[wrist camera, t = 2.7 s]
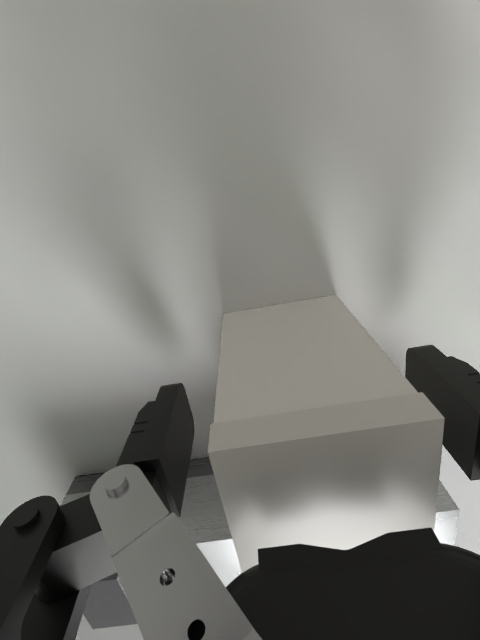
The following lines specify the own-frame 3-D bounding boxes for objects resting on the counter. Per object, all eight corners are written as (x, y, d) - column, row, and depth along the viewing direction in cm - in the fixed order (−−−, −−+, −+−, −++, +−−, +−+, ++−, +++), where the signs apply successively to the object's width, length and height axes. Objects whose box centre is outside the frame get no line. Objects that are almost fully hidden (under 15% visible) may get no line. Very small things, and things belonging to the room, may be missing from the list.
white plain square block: (221, 312, 13) (207, 452, 6) (337, 293, 13) (444, 417, 6) (241, 404, 15) (246, 586, 8) (342, 389, 14) (431, 565, 8)
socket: (75, 477, 16) (19, 582, 12) (405, 429, 15) (470, 526, 11) (154, 628, 22) (135, 737, 18) (400, 600, 21) (441, 707, 17)
